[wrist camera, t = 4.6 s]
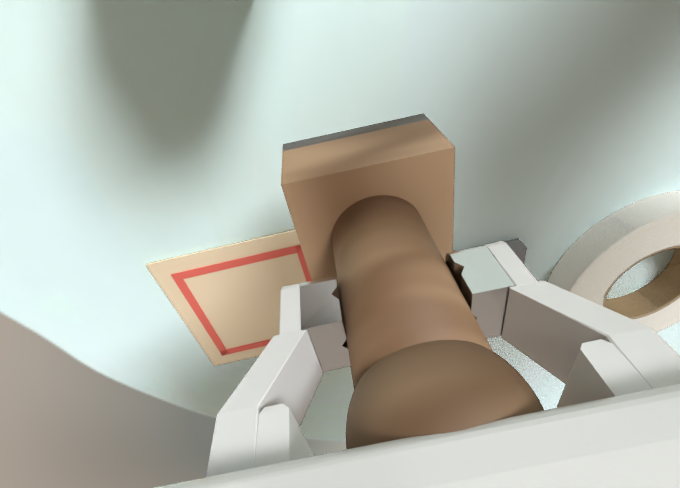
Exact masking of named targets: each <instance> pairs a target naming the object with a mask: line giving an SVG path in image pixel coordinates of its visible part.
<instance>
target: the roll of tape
mask: <svg viewBox="0 0 680 488" xmlns="http://www.w3.org/2000/svg"><path fill="white" fill-rule="evenodd" d="M673 248H675V253H674V255H673V258H672V259H671V261H670V263H669V264H668V266H667V267H666V268H665V270H664V271H663V272H662V273H661V274H660V275H658V276H657V277H656V278H655V279H654V280H653V281H651V282H650V283H648V284H647V285H645V286H644V287H642V288H640V289H639V290H637V291H635V292H633V293H630V294H628V295H625V296H622V297H618V298H613V299H606V297H607V294H608V292H609V290H610V289H611V287H612V286H613V284H614V283H615V282H616V281H617V279H618V278H619V277H620V276H621V275H622V274H624V273H625V272H626V271H627V270H628V269H630V268H631V267H632V266H634V265H635V264H637V263H638V262H640V261H641V260H643V259H645V258H647V257H649V256H652V255H654V254H656V253H659V252H662V251H665V250H668V249H673ZM547 282H548V283H551V284H553V285H555V286H557V287H560V288H562V289H564V290H567V291H569V292H571V293H573V294H576V295H578V296H580V297H583V298H585V299H587V300H589V301H592V302H594V303H596V304H598V305H601V306H603V307H605V308H608V309H610V310H612V311H614V312H617V313H619V314H621V315H623V316H626V317H628V318H630V319H633V320H635V321H637V322H639V323H642V324H644V325H646V326H649V327H651V328H652V329H653V330H654V331H655V332H656V333H657V332H659V331H661V330H663V329H666V328H668V327H670V326H671V325H673V324H675V323H677V322H679V321H680V191H672V192H666V193H661V194H657V195H653V196H650V197H647V198H644V199H641V200H639V201H636V202H634V203H632V204H629V205H627V206H625V207H623V208H621V209H619V210H618V211H616V212H614V213H612V214H611V215H609V216H607V217H606V218H604V219H603V220H601V221H600V222H598V223H597V224H595V225H594V226H593V227H591V228H590V229H589V230H588V231H587V232H585V233H584V234H583V235H582V236H581V237H580V238H579V239H577V240H576V241H575V242H574V243H573V244H572V245H571V246H570V248H569V249H568V250H567V251H566V252H565V253H564V255H563V256H562V257H561V258H560V260H559V261H558V263H557V264H556V266H555V267H554V269H553V271H552V273H551V275H550V277H549V279H548V281H547Z"/></svg>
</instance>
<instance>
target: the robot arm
mask: <svg viewBox="0 0 680 488" xmlns="http://www.w3.org/2000/svg"><path fill="white" fill-rule="evenodd" d="M445 262H446V264H447V266H448V268H449V270H450V272H451V274H452V276H453V278H454V279H455V281H456V283H457V285H458V287H459V289H460V291H461V293H462V294H463V296H464V298H465V300H466V302H467V304H468V306H469V308H470V309H471V311H472V313H473V315H474V317H475V319H476V321H477V323H478V324H479V326H480V328H481V330H482V332H483V334H484V336H485V338H486V339H487V338H493V337H498V336H502V337H501V338H503V339H504V340H506V341H507V342H508V343H510V344H511V345H512V346H514V347H515V348H517V349H518V350H519V351H521V352H522V353H524V354H525V355H526V356H528V357H529V358H530V359H532V360H533V361H535V362H536V363H537V364H539V365H540V366H541V367H543V368H544V369H546V370H547V371H548V372H550V373H551V374H552V375H554V376H555V377H557V378H558V379H559V380H561V381H562V382H563V383H565V384H566V385H565V388H564V390H563V393H562V395H561V398H560V400H559V403H558V405H557V408H554V409H549V410H544V411H539V412H534V413H529V414H524V415H519V416H514V417H508V418H504V419H501V420H496V421H493V422H490V423H487V424H484V425H480V426H476V427H473V428H469V429H465V430H461V431H456V432H449V433H442V434H433V435H425V436H414V437H408V438H403V439H397V440H392V441H387V442H382V443H377V444H372V445H367V446H362V447H357V448H352V449H347V450H342V451H337V452H332V453H326V454H321V455H316V456H315V455H314V453H313V451H312V449H311V448H310V446H309V444H308V442H307V440H306V438H305V436H304V435H303V433H302V431H301V429H300V425H301V423H302V421H303V418H304V416H305V414H306V412H307V409H308V407H309V405H310V403H311V401H312V398H313V396H314V394H315V392H316V390H317V387H318V385H319V383H320V381H321V378H322V376H323V372H326V371H330V370H335V369H339V368H343V367H348V366H351V365H350V358H349V352H348V345H347V336H346V329H345V322H344V316H343V312H342V306H341V305H342V302H341V296H340V290H339V285H338V281H337V278H336V277H331V278H325V279H320V280H314V281H309V282H304V283H300V284H295V285H289V286H284V287H282V289H281V294H280V322H279V335H276V336H273V338H272V339H271V340H270V342H269V343H268V345H267V346H266V347H265V349H264V350H263V351H262V353H261V354H260V356H259V357H258V358H257V360H256V361H255V363H254V364H253V365H252V367H251V368H250V370H249V371H248V372H247V374H246V375H245V376H244V378H243V379H242V381H241V382H240V383H239V385H238V386H237V388H236V389H235V390H234V392H233V393H232V395H231V396H230V397H229V399H228V400H227V401H226V403H225V404H224V406H223V407H222V408H221V410H220V411H219V413H218V414H217V417H216V423H215V428H214V434H213V441H212V446H211V452H210V458H209V463H208V469H207V475H206V477H205V478H200V479H195V480H190V481H185V482H180V483H175V484H170V485H165V486H160V487H155V488H680V355H679V354H678V353H677V352H676V351H675V350H674V349H673V348H672V347H671V346H670V345H669V344H668V343H667V342H666V341H665V340H663V339H662V338H661V337H660V336H659V335H658V334H657V333H656V332H655V331H654V330H653V329H652V328H651V327H649V326H646V325H644V324H642V323H639V322H637V321H635V320H633V319H630V318H628V317H626V316H623V315H621V314H619V313H617V312H614V311H612V310H610V309H608V308H605V307H603V306H601V305H598V304H596V303H594V302H592V301H589V300H587V299H585V298H583V297H580V296H578V295H576V294H573V293H571V292H569V291H567V290H564V289H562V288H560V287H557V286H555V285H553V284H551V283H548V282H546V281H544V280H543V281H537V280H536V279H535V278H534V276H533V275H532V274H531V273H530V271H529V270H528V269H527V268H526V266H525V265H524V264H523V263H522V262H521V260H520V259H519V258H518V257H517V255H516V254H515V253H514V252H513V250H512V249H511V248H510V247H509V246H508V244H507V243H506V242H504V241H499V242H494V243H490V244H485V245H483V246H477V247H473V248H468V249H463V250H459V251H454V252H450V253H446V257H445Z"/></svg>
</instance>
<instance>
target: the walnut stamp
mask: <svg viewBox="0 0 680 488" xmlns="http://www.w3.org/2000/svg"><path fill="white" fill-rule="evenodd" d="M454 165H455V147H454V146H453V145H452V144H451V142H450V141H449V140H448V139H447V138H446V137H445V136H444V135H443V134H442V133H441V132H440V131H439V130H438V129H437V128H436V126H435V125H434V124H433V123H432V122H431V121H430V120H429V119H428V118H427V117H426V116H425V115H424V114H419V115H415V116H410V117H406V118H401V119H397V120H392V121H387V122H383V123H378V124H374V125H369V126H365V127H360V128H355V129H351V130H346V131H342V132H337V133H333V134H328V135H324V136H319V137H314V138H310V139H305V140H301V141H296V142H292V143H287V144H283V156H282V177H281V186H282V189H283V192H284V195H285V198H286V202H287V205H288V208H289V211H290V214H291V217H292V220H293V223H294V227H295V230H296V233H297V236H298V239H299V242H300V245H301V248H302V252H303V255H304V258H305V261H306V264H307V267H308V270H309V273H310V276H311V280H312V281H314V280H320V279H325V278H331V277H336V278H337V281H338V285H339V290H340V296H341V302H342V305H341V306H342V312H343V316H344V322H345V329H346V336H347V345H348V352H349V358H350V365H351V372H352V378H353V385H354V393H353V395H352V398H351V401H350V404H349V409H348V414H347V423H346V448H347V449H352V448H357V447H362V446H367V445H372V444H377V443H382V442H387V441H392V440H397V439H403V438H408V437H414V436H425V435H433V434H442V433H449V432H456V431H461V430H465V429H469V428H473V427H476V426H480V425H484V424H487V423H490V422H493V421H496V420H501V419H504V418H508V417H514V416H519V415H524V414H529V413H534V412H539V411H544V409H543V407H542V405H541V403H540V401H539V399H538V397H537V396H536V394H535V393H534V391H533V390H532V388H531V387H530V386H529V384H528V383H527V382H526V381H525V379H524V378H523V377H522V376H521V375H520V374H519V372H518V371H517V370H516V369H515V368H514V367H512V366H511V365H510V364H509V363H508V362H507V361H506V360H504V359H503V358H502V357H500V356H499V355H497V354H496V353H494V352H493V351H492V349H491V347H490V345H489V343H488V341H487V339H486V338H485V336H484V334H483V332H482V330H481V328H480V326H479V324H478V323H477V321H476V319H475V317H474V315H473V313H472V311H471V309H470V308H469V306H468V304H467V302H466V300H465V298H464V296H463V294H462V293H461V291H460V289H459V287H458V285H457V283H456V281H455V279H454V278H453V276H452V274H451V272H450V270H449V268H448V266H447V264H446V262H445V257H446V253H450V252H453V211H454Z"/></svg>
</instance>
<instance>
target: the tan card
mask: <svg viewBox="0 0 680 488" xmlns="http://www.w3.org/2000/svg"><path fill="white" fill-rule="evenodd" d="M146 267H147V268H148V269H149V271H150V272H151V274H152V275H153V277H154V278H155V280H156V281H157V283H158V284H159V286H160V287H161V289H162V290H163V291H164V293H165V294H166V296H167V297H168V299H169V300H170V302H171V303H172V305H173V306H174V308H175V309H176V311H177V312H178V313H179V315H180V316H181V318H182V319H183V321H184V322H185V324H186V325H187V327H188V328H189V330H190V331H191V333H192V334H193V335H194V337H195V338H196V340H197V341H198V343H199V344H200V346H201V347H202V349H203V350H204V352H205V353H206V355H207V356H208V357H209V359H210V360H211V362H212V363H213V365H214V366H217V365H221V364H225V363H230V362H234V361H238V360H243V359H247V358H252V357H256V356H260V354H261V353H262V351H263V350H264V349H265V347H266V346H267V345H268V343H269V342H270V340H271V339H272V338H273V336H276V335H279V322H280V294H281V289H282V287H284V286H289V285H295V284H300V283H304V282H309V281H312V280H311V276H310V273H309V270H308V267H307V264H306V261H305V258H304V255H303V252H302V248H301V245H300V242H299V239H298V236H297V233H296V230H290V231H286V232H282V233H277V234H273V235H269V236H264V237H260V238H256V239H251V240H247V241H243V242H238V243H234V244H230V245H225V246H221V247H217V248H212V249H208V250H204V251H199V252H195V253H191V254H186V255H182V256H178V257H173V258H169V259H165V260H160V261H156V262H152V263H147V264H146Z"/></svg>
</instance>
